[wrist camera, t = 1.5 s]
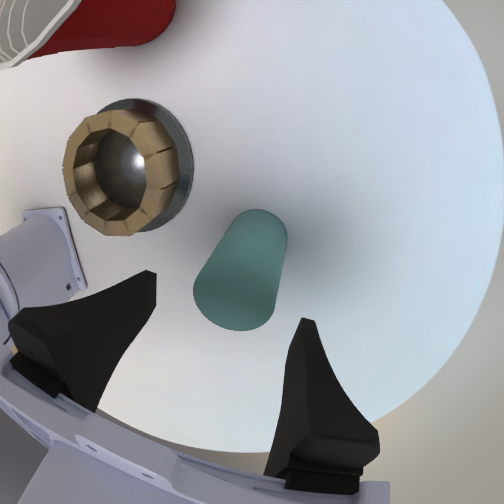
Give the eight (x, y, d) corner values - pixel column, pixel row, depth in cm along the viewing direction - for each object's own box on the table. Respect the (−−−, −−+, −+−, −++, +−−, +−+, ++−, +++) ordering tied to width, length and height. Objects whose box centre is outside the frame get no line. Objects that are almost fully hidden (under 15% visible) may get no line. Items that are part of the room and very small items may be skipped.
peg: (286, 264, 23) (275, 334, 16) (231, 261, 24) (199, 326, 17) (287, 210, 21) (274, 264, 14) (227, 209, 22) (187, 260, 15)
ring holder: (200, 229, 23) (184, 249, 20) (94, 229, 25) (72, 244, 22) (187, 87, 18) (166, 84, 15) (75, 114, 20) (48, 118, 17)
